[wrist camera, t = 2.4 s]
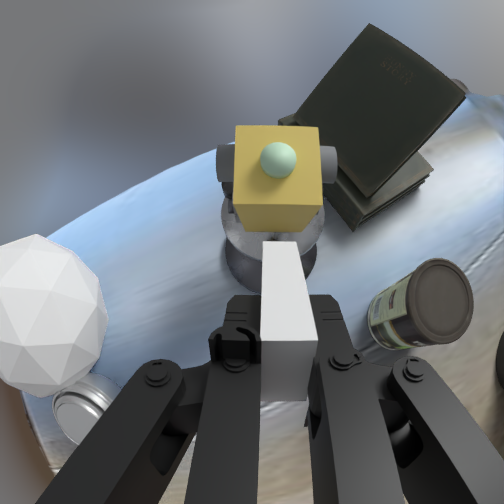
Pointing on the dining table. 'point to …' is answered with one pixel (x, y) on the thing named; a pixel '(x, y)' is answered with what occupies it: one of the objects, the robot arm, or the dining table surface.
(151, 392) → the robot arm
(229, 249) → the stand
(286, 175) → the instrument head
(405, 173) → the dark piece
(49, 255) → the lamp
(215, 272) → the dining table surface
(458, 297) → the coffee can
